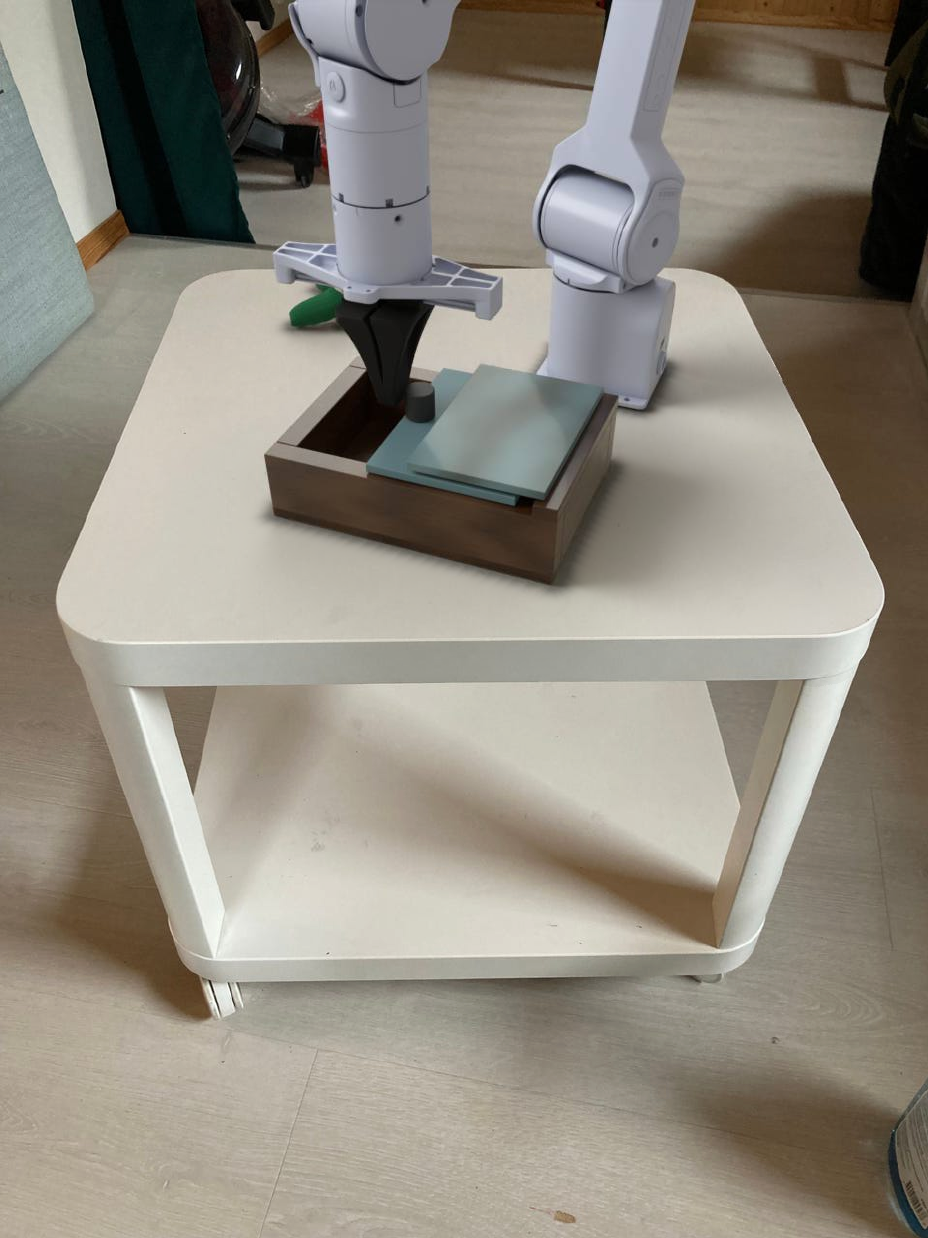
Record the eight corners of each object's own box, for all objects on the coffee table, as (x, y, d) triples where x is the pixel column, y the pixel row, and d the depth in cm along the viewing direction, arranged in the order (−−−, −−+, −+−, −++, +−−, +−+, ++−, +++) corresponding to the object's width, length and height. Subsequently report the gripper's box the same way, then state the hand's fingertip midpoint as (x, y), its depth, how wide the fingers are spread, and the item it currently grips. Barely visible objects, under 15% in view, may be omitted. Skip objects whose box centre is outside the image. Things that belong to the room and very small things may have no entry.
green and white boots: (314, 351, 87) (357, 311, 84) (281, 319, 86) (324, 277, 82) (343, 304, 94) (384, 266, 90) (314, 275, 92) (354, 234, 89)
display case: (610, 466, 71) (620, 386, 67) (552, 585, 62) (558, 501, 57) (362, 413, 77) (355, 335, 72) (273, 515, 67) (259, 433, 63)
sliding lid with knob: (576, 401, 68) (579, 367, 66) (514, 506, 59) (516, 470, 58) (443, 374, 71) (443, 341, 69) (365, 471, 62) (362, 436, 60)
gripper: (234, 197, 56) (268, 406, 65) (473, 234, 52) (472, 451, 61) (294, 156, 60) (318, 357, 70) (517, 188, 56) (510, 395, 66)
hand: (393, 397), depth 66 cm, fingers closed
